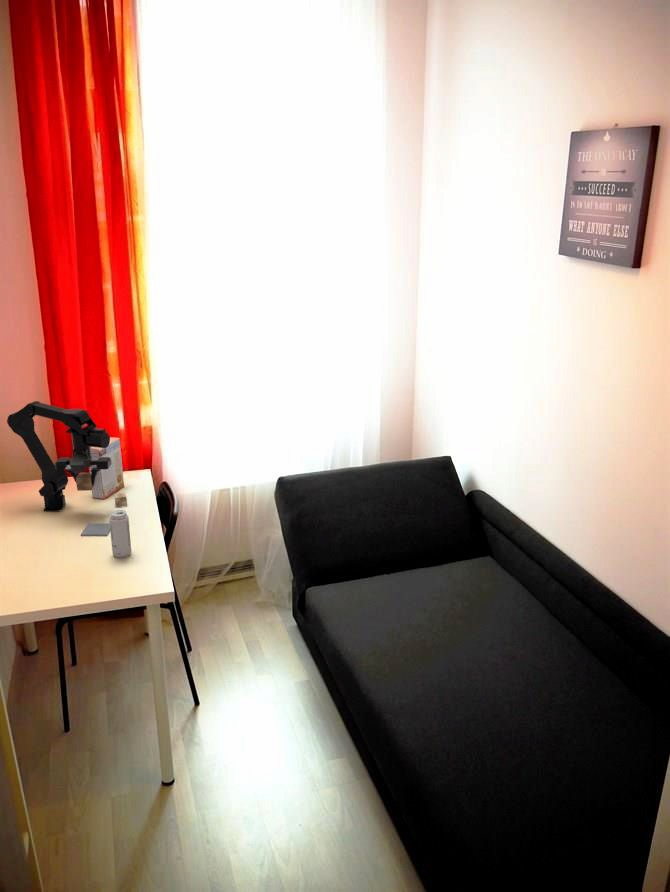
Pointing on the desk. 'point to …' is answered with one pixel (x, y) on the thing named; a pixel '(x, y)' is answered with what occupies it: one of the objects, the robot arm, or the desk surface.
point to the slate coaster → (96, 529)
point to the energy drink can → (120, 534)
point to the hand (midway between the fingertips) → (85, 485)
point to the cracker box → (108, 470)
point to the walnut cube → (84, 482)
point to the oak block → (120, 499)
